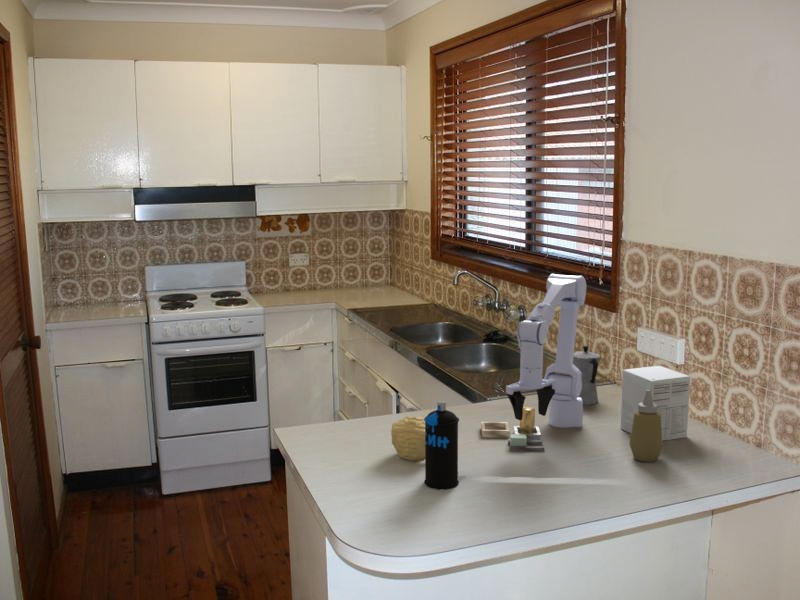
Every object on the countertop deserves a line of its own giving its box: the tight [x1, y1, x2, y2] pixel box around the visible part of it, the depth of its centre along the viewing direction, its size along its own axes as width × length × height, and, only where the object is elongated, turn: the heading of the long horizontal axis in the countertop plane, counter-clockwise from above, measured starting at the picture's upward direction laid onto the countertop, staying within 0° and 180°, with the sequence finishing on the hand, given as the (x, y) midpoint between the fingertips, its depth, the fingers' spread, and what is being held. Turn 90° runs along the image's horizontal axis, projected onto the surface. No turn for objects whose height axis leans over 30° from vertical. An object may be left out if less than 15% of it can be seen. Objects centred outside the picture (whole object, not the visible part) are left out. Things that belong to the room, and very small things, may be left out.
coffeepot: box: [573, 345, 601, 406], centre depth 248 cm, size 15×9×18 cm, turn 9°
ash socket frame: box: [480, 421, 511, 439], centre depth 218 cm, size 7×7×2 cm
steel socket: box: [512, 425, 542, 441], centre depth 214 cm, size 7×7×2 cm
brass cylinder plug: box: [519, 406, 536, 434], centre depth 214 cm, size 4×4×8 cm
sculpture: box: [390, 416, 425, 462], centre depth 203 cm, size 12×12×11 cm
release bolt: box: [509, 433, 528, 446], centre depth 207 cm, size 4×3×3 cm
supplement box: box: [620, 365, 691, 442], centre depth 219 cm, size 13×13×18 cm
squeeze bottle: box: [629, 390, 663, 463], centre depth 200 cm, size 8×8×18 cm
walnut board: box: [507, 439, 546, 452], centre depth 213 cm, size 17×19×2 cm
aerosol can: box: [423, 400, 460, 490], centre depth 185 cm, size 8×8×20 cm
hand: (530, 416), depth 205 cm, fingers open, 7 cm apart
